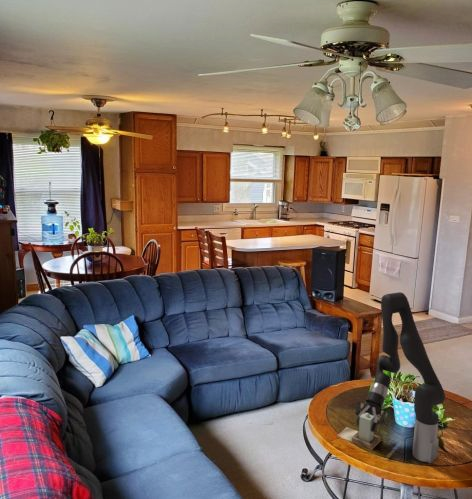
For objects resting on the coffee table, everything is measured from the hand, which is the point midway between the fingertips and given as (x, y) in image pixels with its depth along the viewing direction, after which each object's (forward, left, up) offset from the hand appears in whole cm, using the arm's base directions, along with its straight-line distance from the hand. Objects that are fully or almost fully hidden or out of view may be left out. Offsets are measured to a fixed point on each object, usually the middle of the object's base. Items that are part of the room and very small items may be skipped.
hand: (365, 428), depth 205 cm
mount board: (+4, -1, -8) cm, 9 cm away
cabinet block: (0, -2, -7) cm, 7 cm away
